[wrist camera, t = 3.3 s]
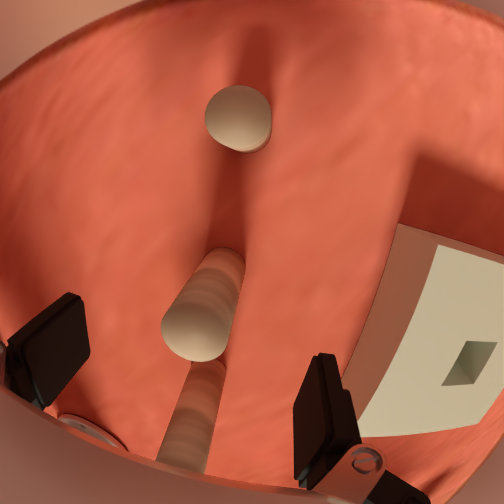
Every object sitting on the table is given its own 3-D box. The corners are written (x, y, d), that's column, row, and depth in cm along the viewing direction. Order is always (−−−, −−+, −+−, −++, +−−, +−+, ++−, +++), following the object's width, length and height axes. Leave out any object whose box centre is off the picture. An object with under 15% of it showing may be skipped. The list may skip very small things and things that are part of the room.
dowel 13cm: (223, 386, 25) (197, 508, 12) (190, 378, 25) (148, 495, 12) (228, 360, 24) (199, 492, 11) (192, 353, 24) (143, 477, 11)
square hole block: (456, 390, 24) (477, 423, 18) (336, 389, 24) (347, 437, 18) (517, 261, 19) (554, 282, 14) (397, 223, 19) (438, 244, 14)
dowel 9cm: (241, 291, 22) (223, 367, 13) (200, 283, 22) (160, 352, 13) (248, 252, 21) (232, 312, 12) (205, 243, 21) (162, 296, 12)
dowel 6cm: (266, 157, 19) (264, 153, 13) (220, 149, 19) (199, 142, 13) (275, 112, 18) (276, 90, 12) (228, 105, 18) (211, 81, 12)
